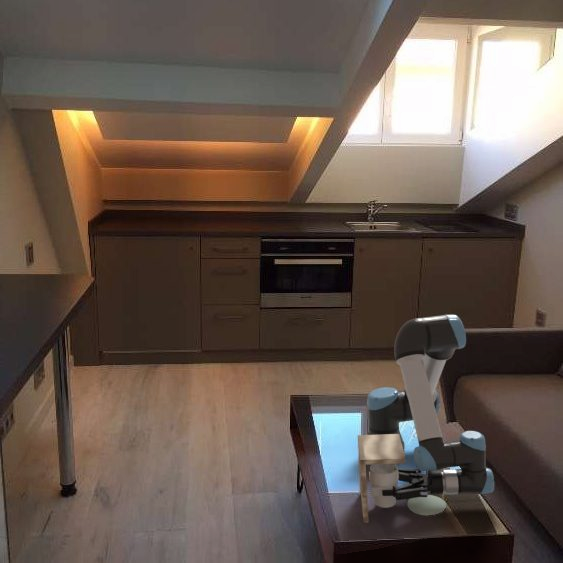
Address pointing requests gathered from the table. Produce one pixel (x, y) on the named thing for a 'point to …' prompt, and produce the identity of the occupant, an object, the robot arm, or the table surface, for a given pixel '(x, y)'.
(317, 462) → the table surface
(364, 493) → the shelf
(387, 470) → the cup
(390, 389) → the robot arm
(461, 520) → the table surface
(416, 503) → the mat
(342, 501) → the table surface
